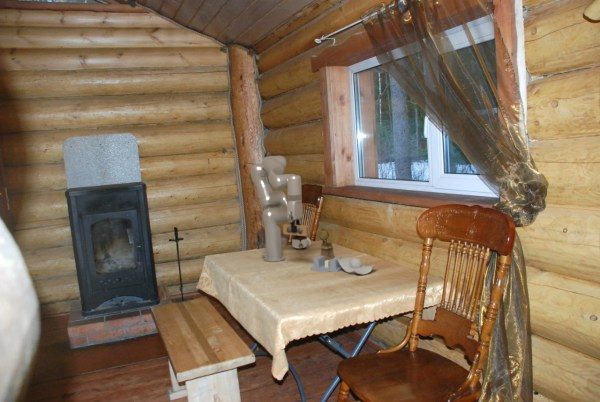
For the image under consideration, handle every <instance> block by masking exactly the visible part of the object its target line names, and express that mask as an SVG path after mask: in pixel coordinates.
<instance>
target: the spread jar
mask: <svg viewBox="0 0 600 402" xmlns="http://www.w3.org/2000/svg"><path fill="white" fill-rule="evenodd" d="M291 244H292V245H291V246H292V248H293V249H294V250H297V251H301V250H302V251H303V250H305V249H306V248H309V247H310V246H311V245H312V241H311V239H310V238H309V237H308V236H299V235H292V238H291Z"/></svg>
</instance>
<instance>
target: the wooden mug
mask: <svg viewBox="0 0 600 402" xmlns="http://www.w3.org/2000/svg"><path fill="white" fill-rule="evenodd" d="M318 237H319V239H320V240H322V242H321V245H320V256H325V261H326V260H331V259H333V258H335V254H334V253H335V252H334V246H333V243H332V242H330V241H329V242H328V238H329V237H330V234H329V232H328V230H326V229H325V228H322V229H321V230H320V231H319V232H318Z"/></svg>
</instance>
